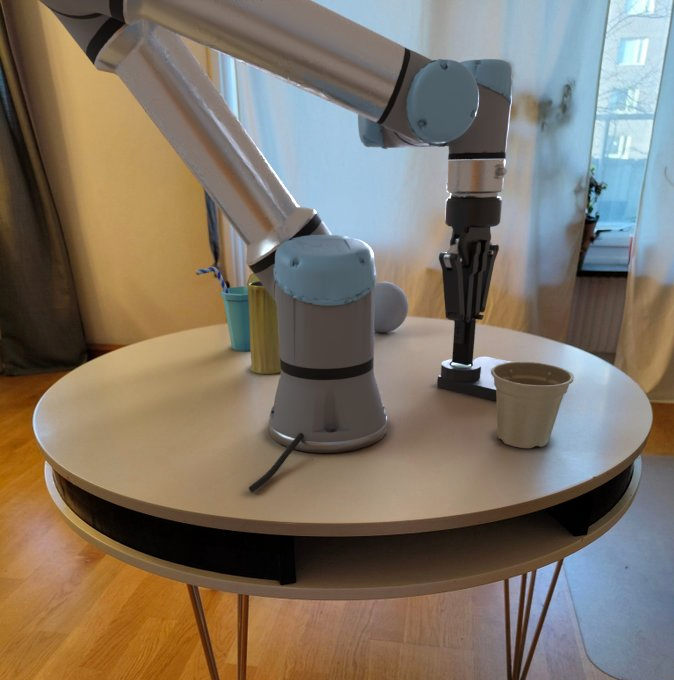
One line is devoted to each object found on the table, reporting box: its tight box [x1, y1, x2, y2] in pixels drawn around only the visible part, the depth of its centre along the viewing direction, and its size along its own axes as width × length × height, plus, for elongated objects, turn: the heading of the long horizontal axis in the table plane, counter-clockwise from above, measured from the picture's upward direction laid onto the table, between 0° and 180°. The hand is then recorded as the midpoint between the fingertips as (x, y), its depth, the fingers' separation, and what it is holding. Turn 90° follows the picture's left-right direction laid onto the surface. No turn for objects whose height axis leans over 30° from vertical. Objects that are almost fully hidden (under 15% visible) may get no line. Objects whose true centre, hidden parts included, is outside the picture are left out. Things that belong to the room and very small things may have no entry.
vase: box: [248, 281, 281, 375], centre depth 101 cm, size 6×6×14 cm
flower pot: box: [491, 361, 575, 449], centre depth 74 cm, size 9×9×9 cm
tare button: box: [451, 363, 471, 368], centre depth 94 cm, size 3×3×2 cm
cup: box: [195, 266, 259, 352], centre depth 113 cm, size 14×8×15 cm, turn 95°
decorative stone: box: [374, 281, 409, 334], centre depth 123 cm, size 10×10×10 cm
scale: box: [436, 355, 512, 402], centre depth 95 cm, size 14×13×4 cm
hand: (462, 362), depth 93 cm, fingers closed
